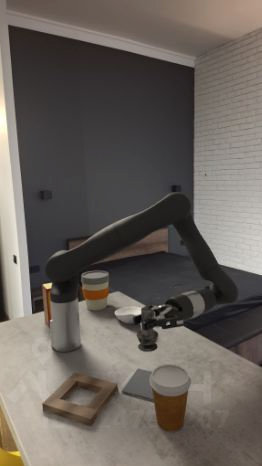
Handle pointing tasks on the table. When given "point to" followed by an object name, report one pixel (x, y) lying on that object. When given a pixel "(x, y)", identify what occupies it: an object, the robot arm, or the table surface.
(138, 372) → the charcoal coaster
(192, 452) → the table surface
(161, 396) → the disposable coffee cup
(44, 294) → the baking soda box
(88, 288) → the reusable coffee cup
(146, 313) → the black chess piece
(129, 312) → the spoon rest
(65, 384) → the walnut holder
